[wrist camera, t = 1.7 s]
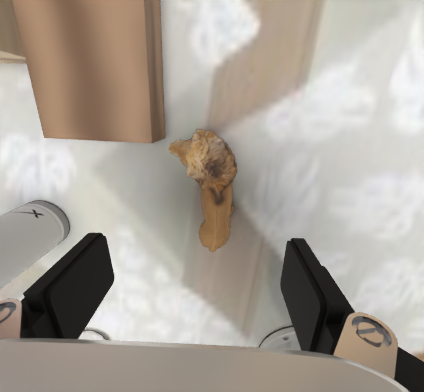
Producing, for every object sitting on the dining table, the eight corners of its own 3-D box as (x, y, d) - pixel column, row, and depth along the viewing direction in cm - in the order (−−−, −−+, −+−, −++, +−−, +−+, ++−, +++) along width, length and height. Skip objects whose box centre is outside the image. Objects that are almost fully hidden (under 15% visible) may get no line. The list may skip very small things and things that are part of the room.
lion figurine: (180, 129, 23) (156, 138, 15) (229, 120, 23) (232, 124, 14) (205, 243, 28) (197, 297, 20) (245, 238, 28) (255, 292, 19)
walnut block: (159, -57, 18) (137, -115, 14) (165, 137, 24) (152, 143, 19) (44, -59, 18) (-16, -117, 14) (78, 133, 24) (44, 137, 20)
